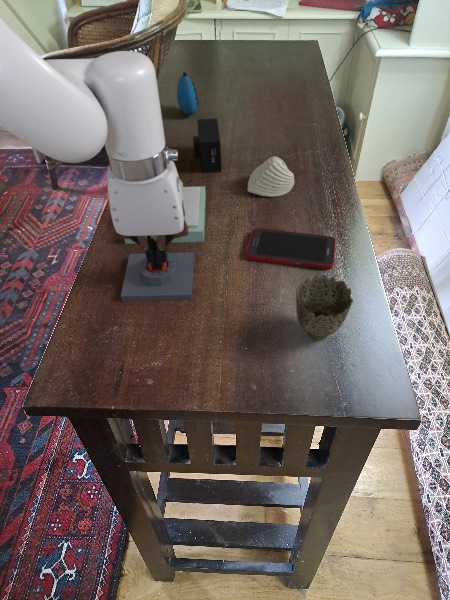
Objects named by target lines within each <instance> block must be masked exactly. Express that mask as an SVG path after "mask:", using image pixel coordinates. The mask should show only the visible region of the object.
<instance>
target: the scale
mask: <svg viewBox="0 0 450 600" xmlns="http://www.w3.org/2000/svg"><path fill="white" fill-rule="evenodd" d="M183 190H184V199H185V203H184V204H185V217H184V219H185V221H186V224H187V226H188V235H187V236H183V237H179V238H174V239H173V240H172V241H171V242H170V243H171V244H173V243H204V242H205V230H206V229H205V228H206V205H207V194H206V192H207V191H206V186H205V185H203V186H183ZM151 238H154V240H155V241H156V239H157V235H151ZM123 240H124V244H126V245H130V244H136V243H135V242H134V241H132V240H131V239H123ZM170 243H169V244H170Z"/></svg>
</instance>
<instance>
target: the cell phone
mask: <svg viewBox="0 0 450 600" xmlns="http://www.w3.org/2000/svg"><path fill="white" fill-rule="evenodd" d="M249 236H250V237H249V239H248V243H247V246H246V250H245V258H246V259H247V260H250V261H251V260H252V261H258V262H259V261H260V262H267V263H275V264H283V265H292V266H301V267H307V268H314V269H323V270H330V269H331V270H332V269H333V268H334V265H335V258H336V257H335V255H336V246H337V245H336V244H337V243H336V241H337V240H336V238H335V237H334V236H331V235H322V234H316V233H315V234H313V233H304V232H298V231H297V232H295V231H287V230H278V229H270V228H260V227H255V228H253V229H252V230H251V233H250V235H249Z"/></svg>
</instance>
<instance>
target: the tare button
mask: <svg viewBox="0 0 450 600" xmlns="http://www.w3.org/2000/svg"><path fill="white" fill-rule="evenodd" d="M166 268H167V262H164V263H163V270H159V269H158V268H157V269H156V270H152V267H151V263H149V264H148V269H149V271H150V272H153V273H158V272H162V271H164V270H166Z"/></svg>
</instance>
